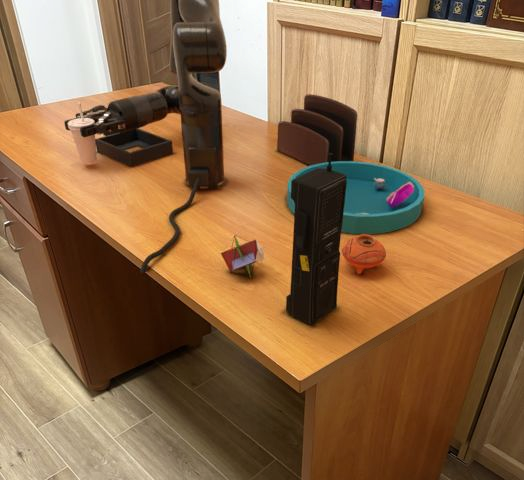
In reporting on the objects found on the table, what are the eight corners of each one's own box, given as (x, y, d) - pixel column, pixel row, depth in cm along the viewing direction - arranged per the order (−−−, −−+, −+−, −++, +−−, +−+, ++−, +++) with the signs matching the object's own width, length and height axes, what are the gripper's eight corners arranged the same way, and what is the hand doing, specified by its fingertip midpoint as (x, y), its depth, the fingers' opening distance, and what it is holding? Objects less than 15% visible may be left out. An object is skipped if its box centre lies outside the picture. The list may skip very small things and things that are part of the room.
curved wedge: (74, 122, 163) (72, 116, 162) (100, 110, 172) (99, 104, 171) (96, 125, 160) (95, 119, 159) (122, 113, 170) (121, 107, 169)
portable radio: (309, 330, 84) (322, 176, 68) (280, 315, 87) (286, 164, 71) (338, 309, 88) (357, 159, 72) (309, 295, 91) (321, 149, 75)
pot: (374, 252, 102) (383, 224, 97) (385, 281, 98) (395, 254, 92) (334, 253, 101) (340, 225, 96) (343, 283, 97) (350, 255, 91)
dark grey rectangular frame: (173, 153, 143) (171, 140, 141) (131, 167, 135) (129, 153, 133) (138, 139, 151) (136, 127, 149) (96, 151, 143) (94, 139, 141)
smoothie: (98, 166, 132) (86, 107, 123) (73, 166, 132) (59, 106, 123) (105, 156, 137) (93, 99, 128) (80, 156, 137) (67, 98, 128)
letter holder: (304, 143, 150) (307, 89, 141) (353, 164, 138) (360, 107, 129) (276, 150, 145) (277, 95, 136) (325, 173, 133) (330, 114, 124)
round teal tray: (424, 240, 107) (430, 213, 103) (277, 226, 111) (278, 199, 107) (418, 182, 129) (423, 158, 126) (296, 172, 133) (297, 148, 130)
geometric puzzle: (213, 272, 93) (240, 238, 89) (212, 252, 98) (238, 219, 94) (246, 291, 96) (274, 259, 92) (244, 271, 101) (269, 240, 97)
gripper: (111, 92, 138) (53, 106, 129) (145, 104, 131) (86, 119, 122) (116, 122, 143) (61, 138, 134) (149, 135, 136) (93, 152, 126)
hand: (73, 129), depth 128 cm, fingers closed on smoothie, 6 cm apart
